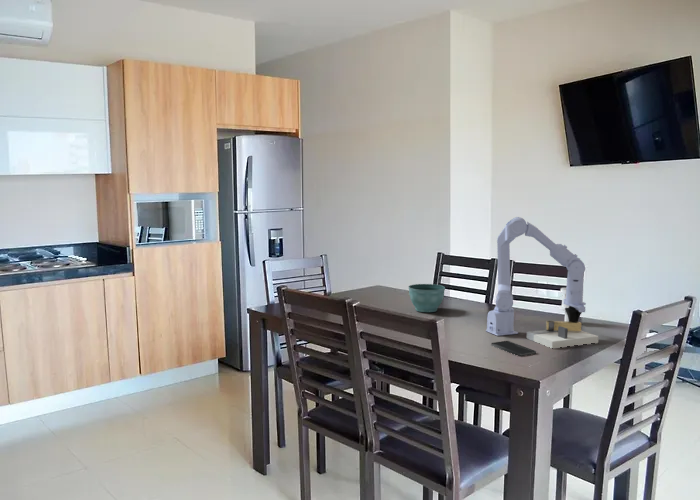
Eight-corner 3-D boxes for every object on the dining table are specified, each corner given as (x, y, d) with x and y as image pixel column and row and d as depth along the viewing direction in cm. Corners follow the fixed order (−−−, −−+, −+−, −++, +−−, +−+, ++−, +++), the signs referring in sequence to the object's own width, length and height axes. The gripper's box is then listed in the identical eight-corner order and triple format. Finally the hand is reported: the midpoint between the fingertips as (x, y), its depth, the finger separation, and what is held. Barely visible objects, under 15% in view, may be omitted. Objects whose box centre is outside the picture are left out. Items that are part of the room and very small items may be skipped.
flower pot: (413, 305, 266) (413, 282, 265) (448, 308, 261) (448, 284, 259) (403, 312, 252) (404, 288, 250) (440, 316, 246) (440, 291, 244)
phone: (519, 354, 188) (490, 342, 201) (519, 357, 188) (489, 346, 201) (537, 351, 191) (507, 340, 205) (537, 354, 191) (507, 343, 205)
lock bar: (547, 330, 210) (547, 322, 209) (545, 328, 213) (545, 320, 212) (581, 332, 208) (581, 323, 208) (579, 330, 211) (579, 321, 211)
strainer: (581, 324, 231) (582, 287, 229) (564, 325, 230) (566, 288, 228) (571, 320, 238) (573, 284, 236) (555, 320, 237) (557, 285, 235)
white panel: (552, 348, 197) (552, 331, 196) (526, 338, 210) (527, 322, 209) (598, 343, 204) (599, 326, 203) (570, 333, 217) (571, 317, 216)
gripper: (594, 294, 203) (592, 332, 204) (577, 287, 217) (575, 322, 219) (574, 294, 202) (573, 332, 204) (558, 287, 217) (557, 322, 218)
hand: (573, 327), depth 211 cm, fingers closed, pressing on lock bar
